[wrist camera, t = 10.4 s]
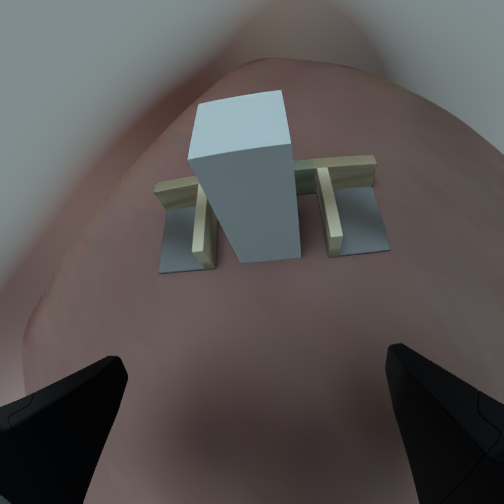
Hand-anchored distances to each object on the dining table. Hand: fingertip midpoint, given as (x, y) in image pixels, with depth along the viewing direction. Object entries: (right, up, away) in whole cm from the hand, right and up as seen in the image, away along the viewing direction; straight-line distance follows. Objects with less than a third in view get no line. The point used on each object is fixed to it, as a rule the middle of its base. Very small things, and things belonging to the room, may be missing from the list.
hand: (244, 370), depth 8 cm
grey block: (+2, +5, +14) cm, 15 cm away
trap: (+2, +5, +14) cm, 15 cm away
